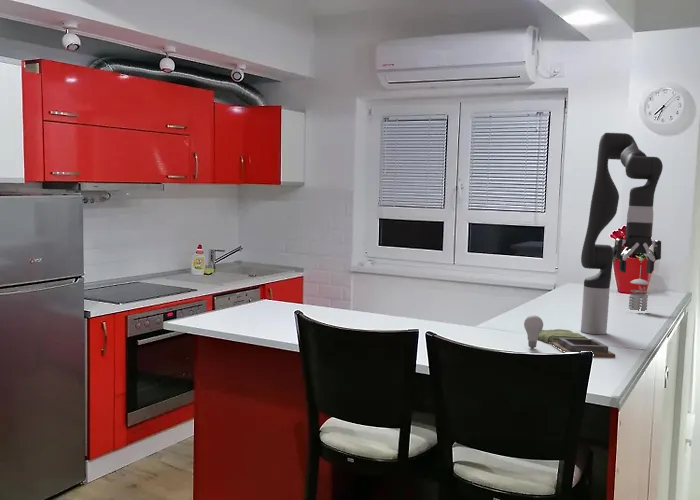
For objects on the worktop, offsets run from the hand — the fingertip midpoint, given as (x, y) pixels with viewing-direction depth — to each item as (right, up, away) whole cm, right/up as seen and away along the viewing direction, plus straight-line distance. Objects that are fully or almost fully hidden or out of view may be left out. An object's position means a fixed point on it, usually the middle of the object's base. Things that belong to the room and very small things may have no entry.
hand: (635, 272), depth 217 cm
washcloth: (-16, -25, +29) cm, 41 cm away
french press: (+42, -22, +100) cm, 111 cm away
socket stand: (-14, -26, +10) cm, 31 cm away
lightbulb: (-30, -25, +11) cm, 41 cm away
